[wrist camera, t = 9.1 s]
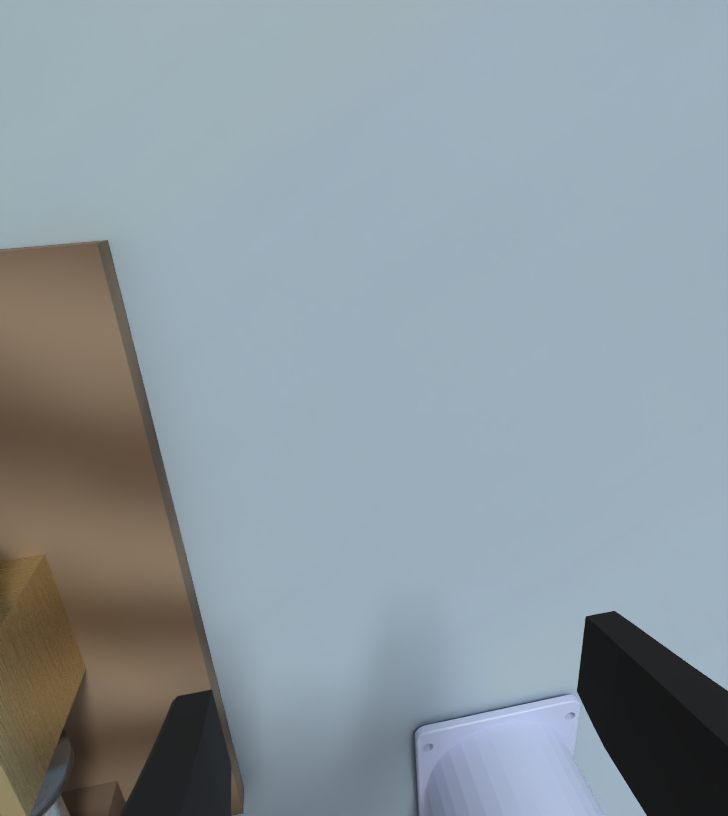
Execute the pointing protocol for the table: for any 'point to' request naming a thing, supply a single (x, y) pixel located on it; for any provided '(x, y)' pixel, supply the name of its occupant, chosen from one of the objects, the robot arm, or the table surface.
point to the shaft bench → (96, 513)
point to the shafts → (55, 781)
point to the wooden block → (32, 678)
